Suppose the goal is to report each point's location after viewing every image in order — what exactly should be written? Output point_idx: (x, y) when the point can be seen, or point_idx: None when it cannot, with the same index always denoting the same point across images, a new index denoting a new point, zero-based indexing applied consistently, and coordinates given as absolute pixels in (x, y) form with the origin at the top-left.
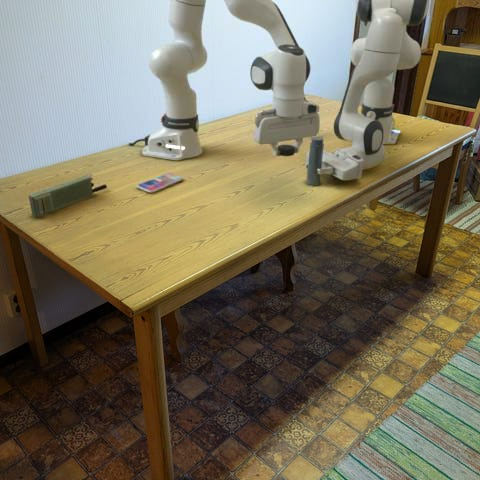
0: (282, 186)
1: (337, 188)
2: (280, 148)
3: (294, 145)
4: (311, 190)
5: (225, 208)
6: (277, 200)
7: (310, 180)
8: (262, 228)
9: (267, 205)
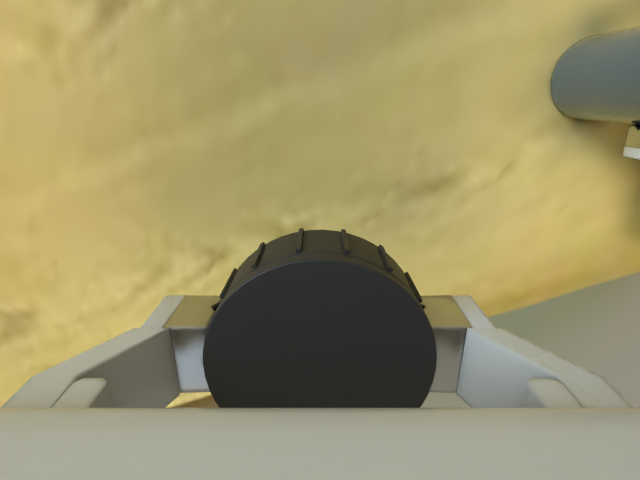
0: (404, 39)
1: (633, 199)
2: (223, 380)
3: (473, 340)
4: (505, 163)
5: (5, 166)
6: (282, 194)
7: (569, 98)
8: None
9: (213, 221)
